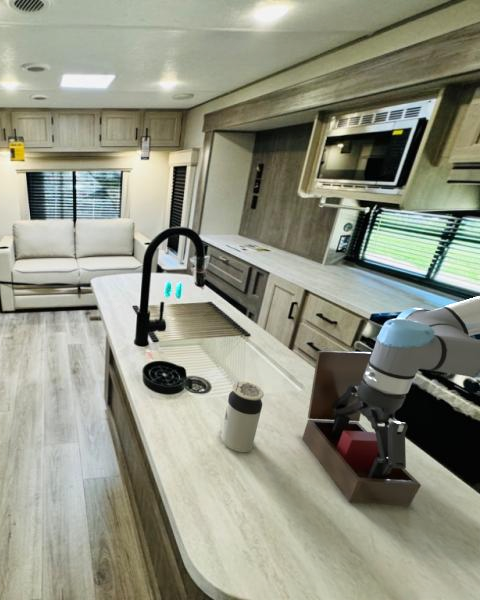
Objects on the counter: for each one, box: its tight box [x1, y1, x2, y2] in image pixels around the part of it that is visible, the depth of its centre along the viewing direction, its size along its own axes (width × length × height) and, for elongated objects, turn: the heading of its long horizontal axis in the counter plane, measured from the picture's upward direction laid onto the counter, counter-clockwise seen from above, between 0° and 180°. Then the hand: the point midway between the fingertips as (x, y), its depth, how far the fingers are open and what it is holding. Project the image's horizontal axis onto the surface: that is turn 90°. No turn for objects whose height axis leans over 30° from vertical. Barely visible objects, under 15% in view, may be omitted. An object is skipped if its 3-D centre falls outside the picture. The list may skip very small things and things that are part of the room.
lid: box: [307, 350, 372, 422], centre depth 86 cm, size 20×13×6 cm
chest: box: [302, 419, 422, 507], centre depth 78 cm, size 19×13×7 cm
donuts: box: [163, 280, 184, 299], centre depth 192 cm, size 10×10×10 cm
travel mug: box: [220, 380, 265, 453], centre depth 85 cm, size 8×8×18 cm
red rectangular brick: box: [336, 431, 379, 472], centre depth 77 cm, size 3×7×10 cm, turn 85°
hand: (354, 456), depth 78 cm, fingers open, 12 cm apart
